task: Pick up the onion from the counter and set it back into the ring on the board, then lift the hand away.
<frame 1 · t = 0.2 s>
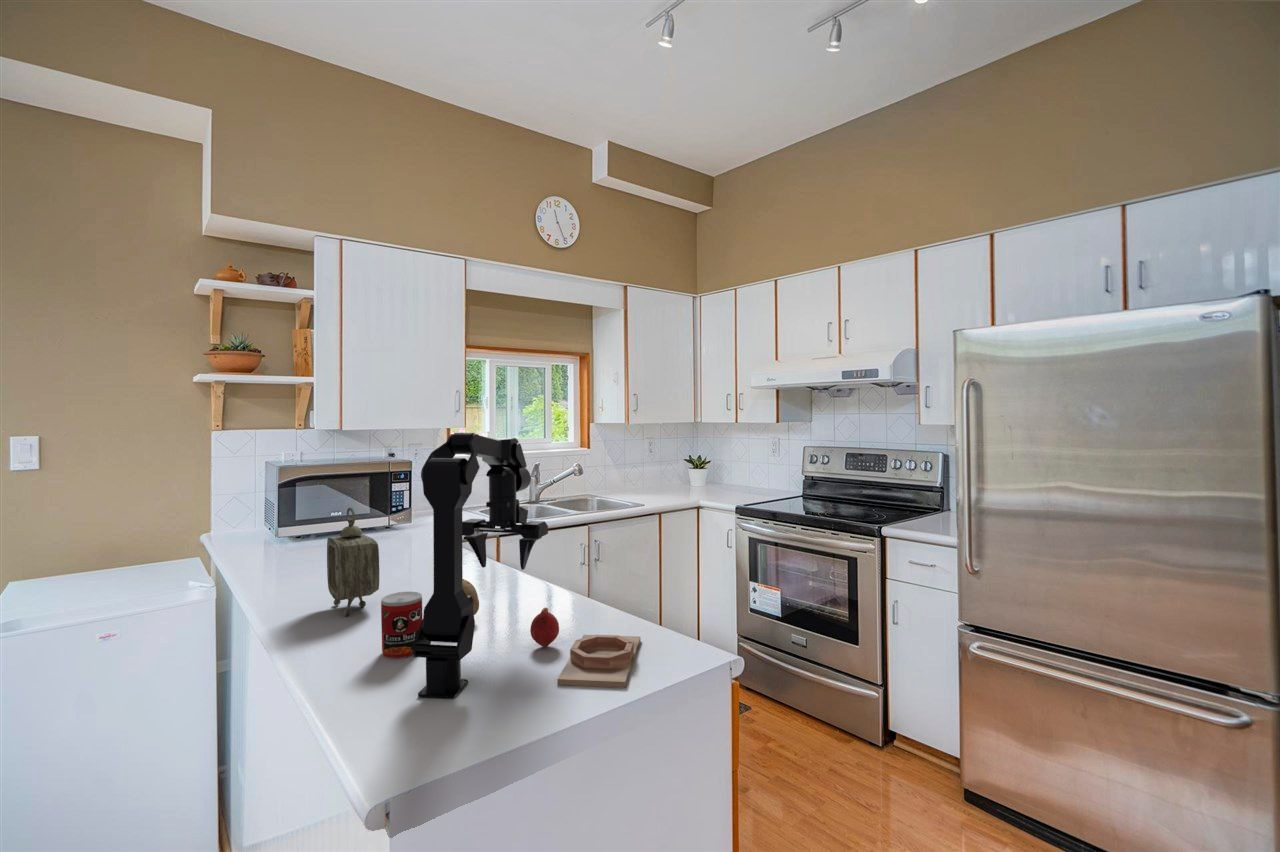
hand: (503, 568, 133), 14 cm above the counter, tool pointing down, fingers open, 9 cm apart
tabletop clock: (353, 609, 152), on the counter
canned food: (402, 652, 124), on the counter
natural sponge: (458, 622, 141), on the counter
onion holder: (602, 661, 118), on the counter
onion: (545, 648, 126), on the counter
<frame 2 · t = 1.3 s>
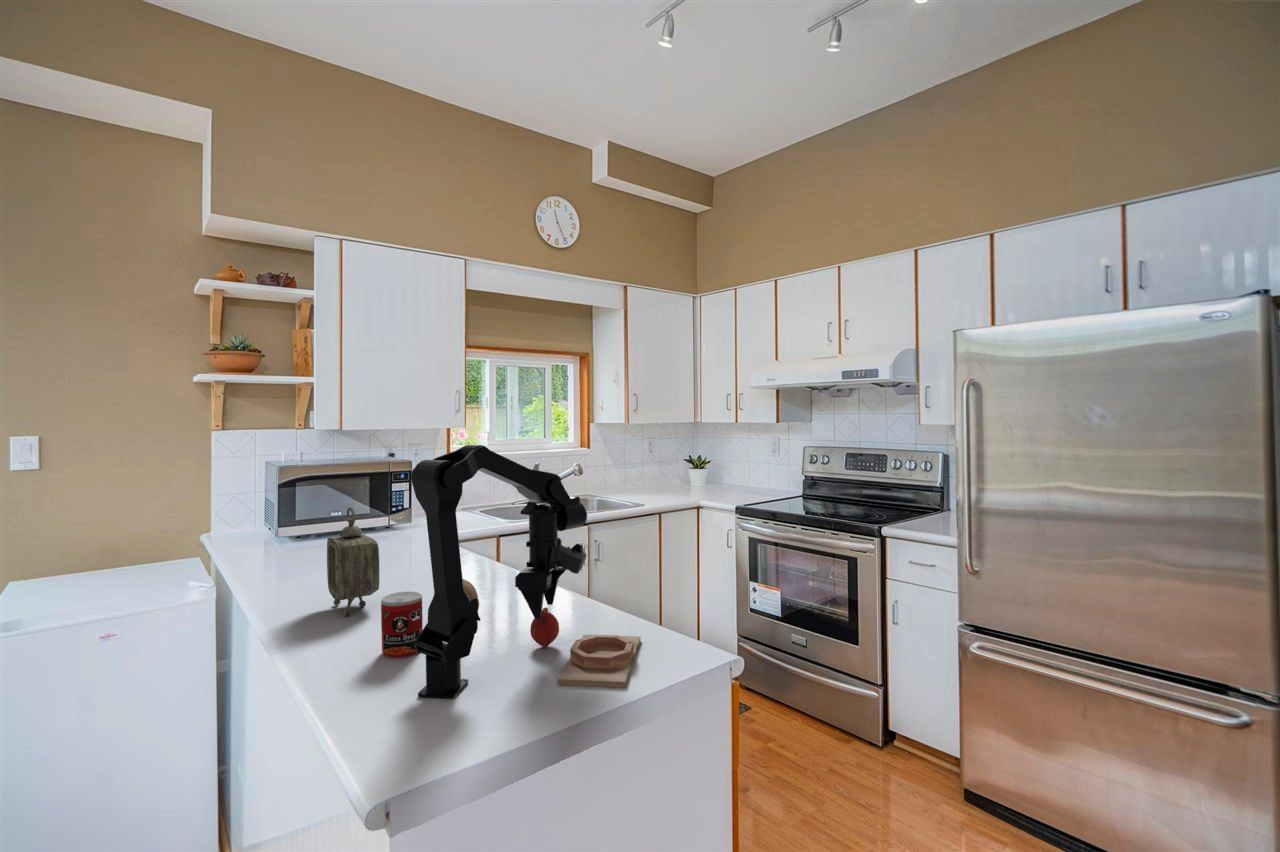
hand: (544, 611, 125), 7 cm above the counter, tool pointing down, fingers open, 9 cm apart
nothing on the counter moved.
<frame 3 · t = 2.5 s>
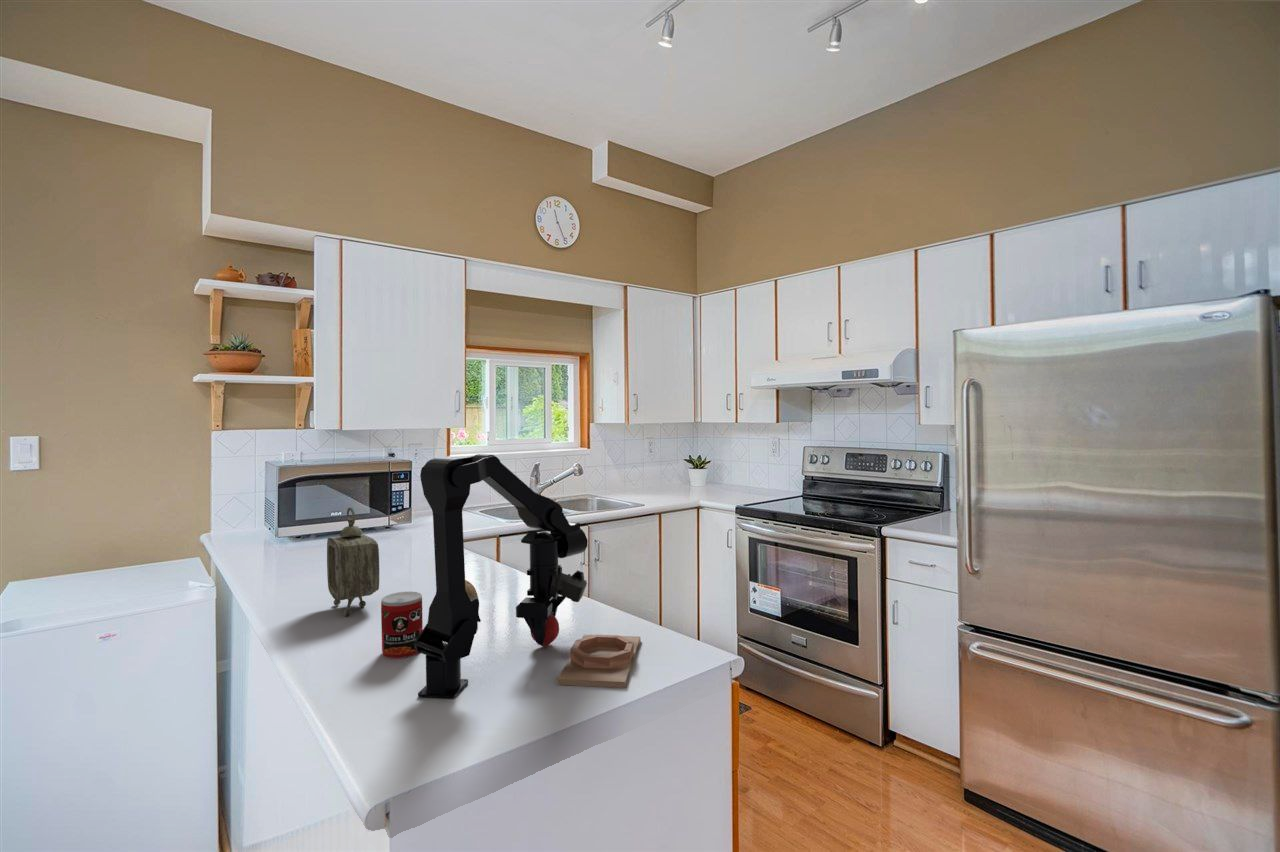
hand: (544, 639, 126), 2 cm above the counter, tool pointing down, fingers closed on onion, 6 cm apart
onion: (545, 648, 126), on the counter, touching gripper
everything else where it was.
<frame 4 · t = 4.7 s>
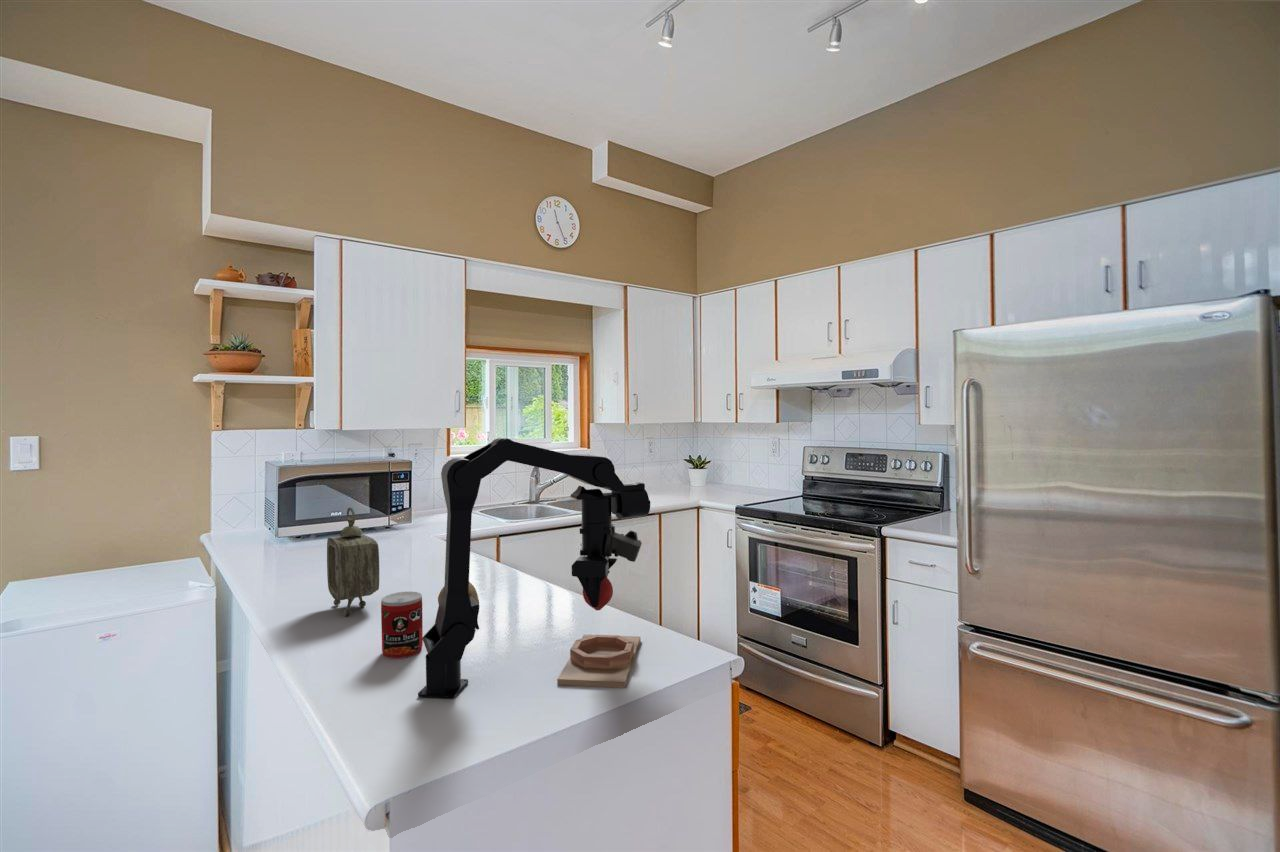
hand: (597, 602, 119), 11 cm above the counter, tool pointing down, fingers closed on onion, 6 cm apart
onion: (598, 611, 119), point 9 cm above the counter, touching gripper
everything else where it was.
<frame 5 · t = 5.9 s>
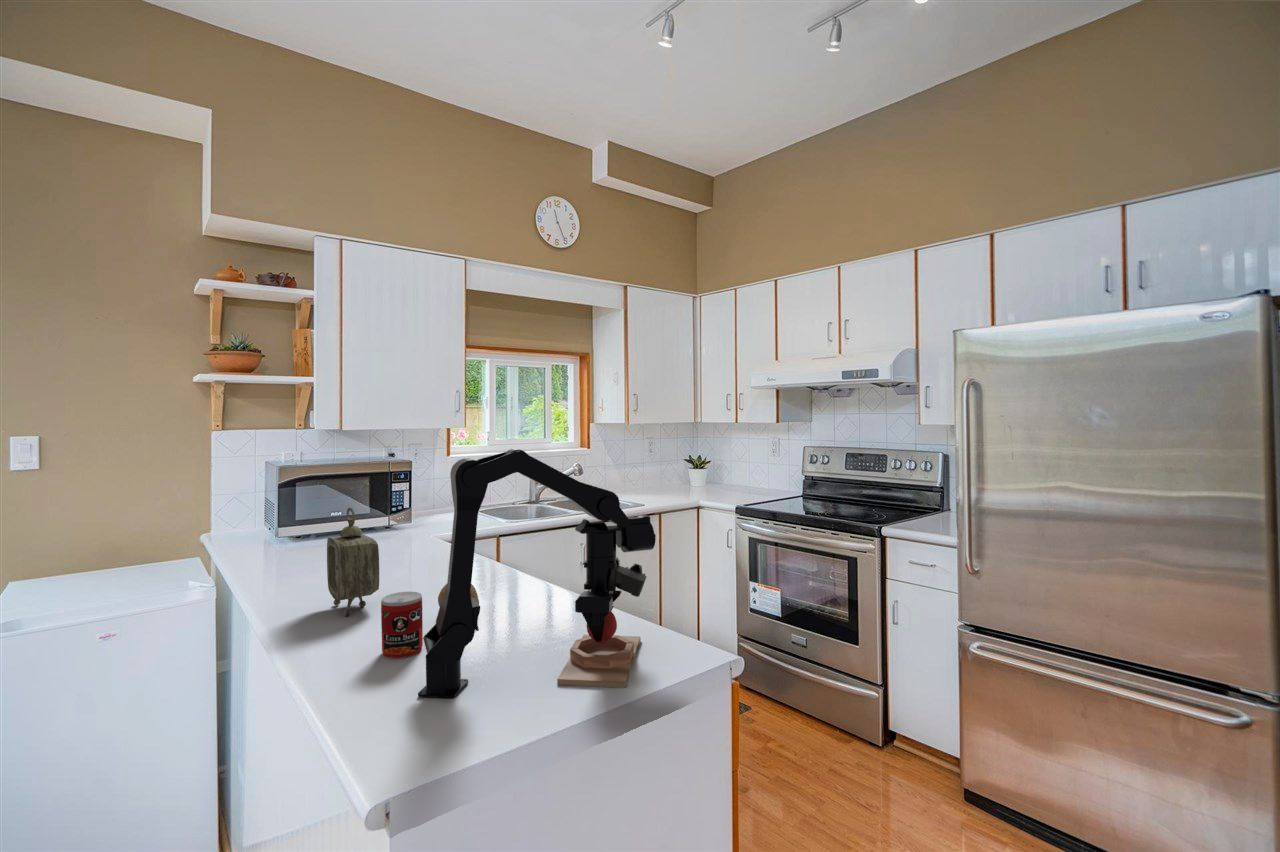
hand: (601, 635, 118), 5 cm above the counter, tool pointing down, fingers closed on onion, 6 cm apart
onion: (601, 645, 118), point 3 cm above the counter, touching gripper
everything else where it was.
when the fingers open (4 cm above the counter, at t = 7.0 s): onion drops 1 cm, resting on onion holder.
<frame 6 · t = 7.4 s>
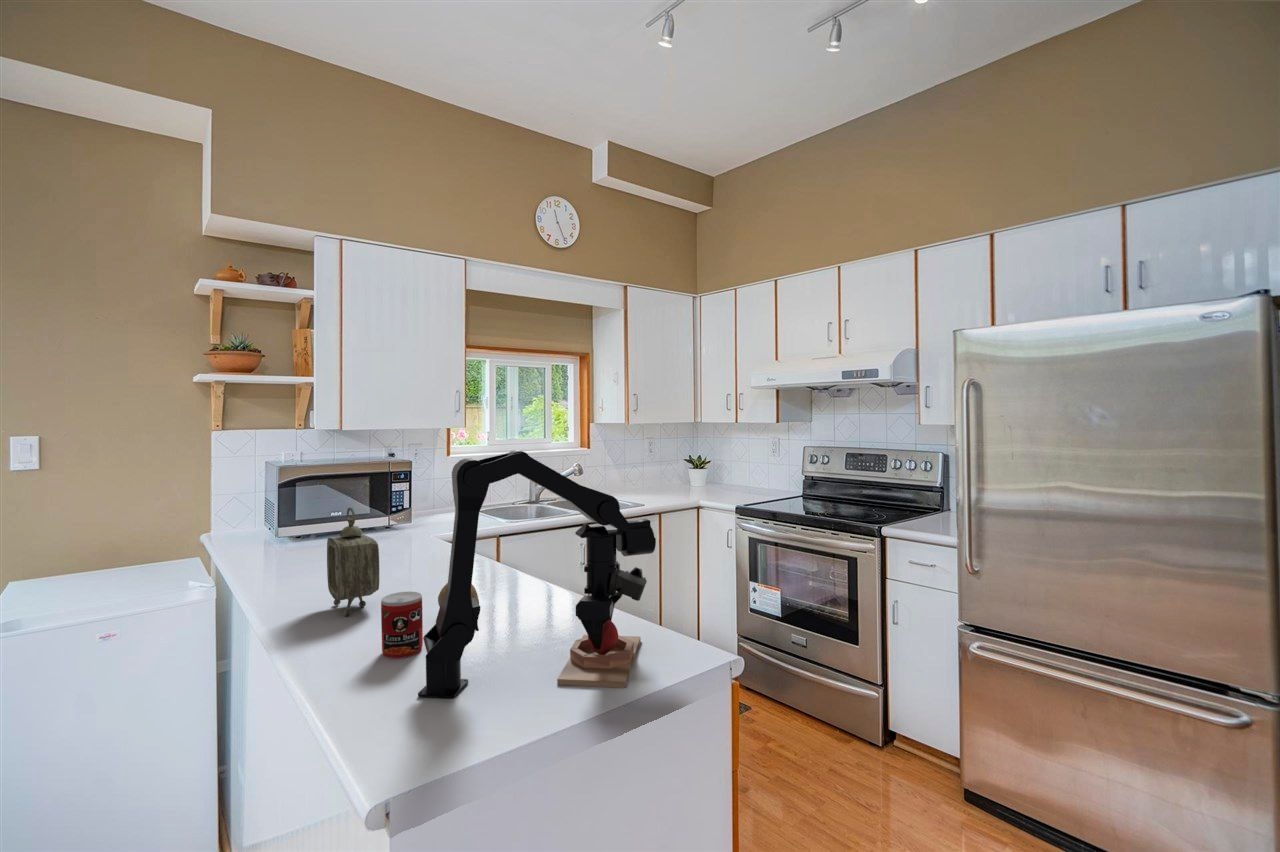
hand: (602, 639, 118), 4 cm above the counter, tool pointing down, fingers open, 9 cm apart
onion: (602, 656, 118), point 1 cm above the counter, touching onion holder
everything else where it was.
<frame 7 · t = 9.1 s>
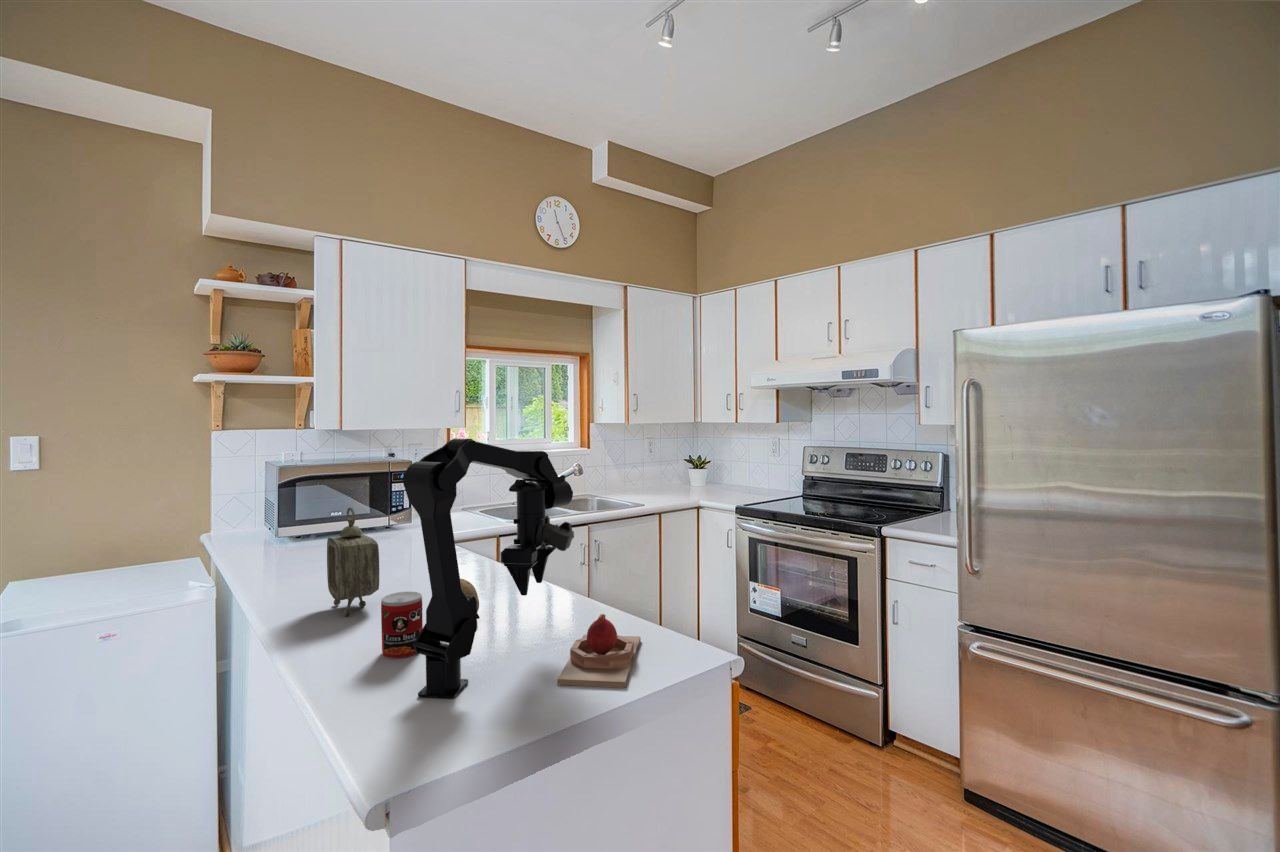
hand: (531, 588, 125), 12 cm above the counter, tool pointing down, fingers open, 9 cm apart
nothing on the counter moved.
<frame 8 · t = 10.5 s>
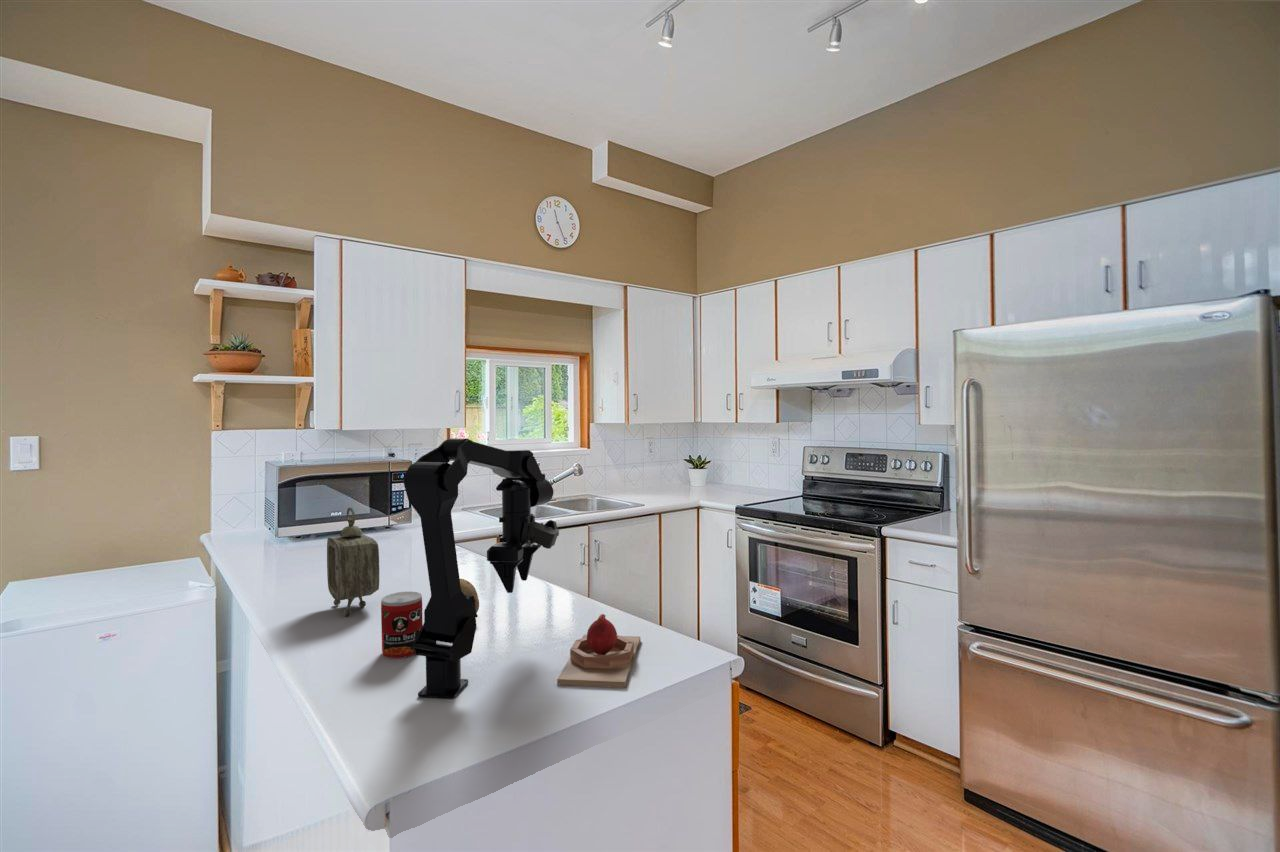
hand: (517, 586, 127), 12 cm above the counter, tool pointing down, fingers open, 9 cm apart
nothing on the counter moved.
at the end: onion 0.1 cm off-centre on the onion holder, point 0.8 cm above the onion holder's base; the gripper is holding nothing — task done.
